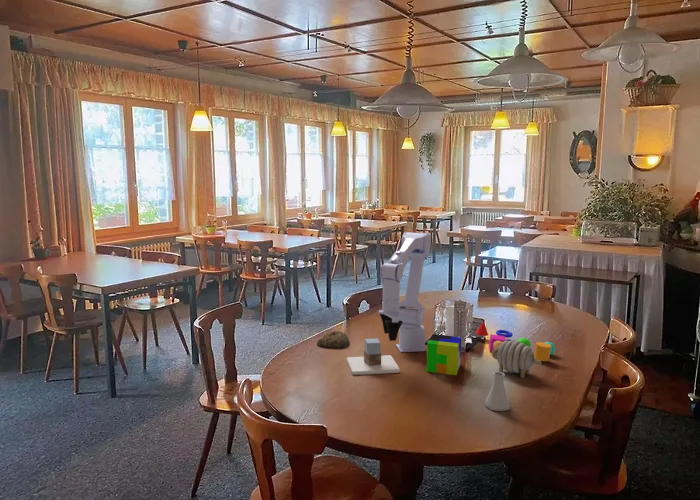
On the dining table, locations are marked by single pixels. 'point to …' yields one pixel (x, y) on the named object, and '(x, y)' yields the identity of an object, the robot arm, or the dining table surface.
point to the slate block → (372, 346)
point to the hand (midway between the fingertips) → (390, 336)
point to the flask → (497, 394)
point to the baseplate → (361, 367)
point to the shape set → (541, 348)
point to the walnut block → (372, 359)
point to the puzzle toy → (443, 354)
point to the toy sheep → (515, 357)
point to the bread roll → (334, 340)
